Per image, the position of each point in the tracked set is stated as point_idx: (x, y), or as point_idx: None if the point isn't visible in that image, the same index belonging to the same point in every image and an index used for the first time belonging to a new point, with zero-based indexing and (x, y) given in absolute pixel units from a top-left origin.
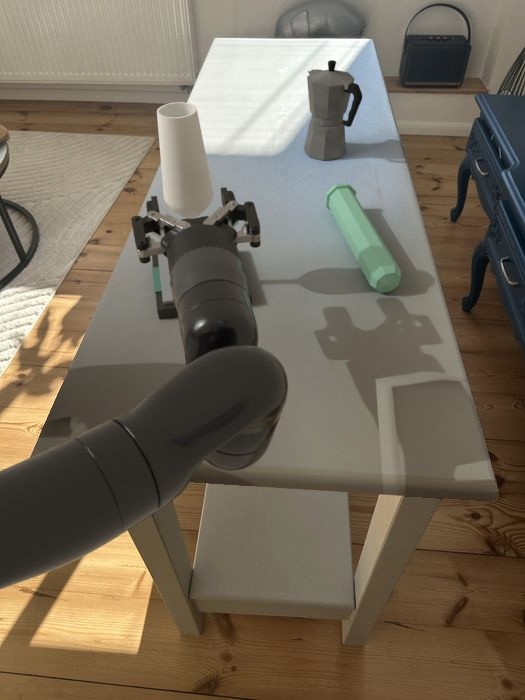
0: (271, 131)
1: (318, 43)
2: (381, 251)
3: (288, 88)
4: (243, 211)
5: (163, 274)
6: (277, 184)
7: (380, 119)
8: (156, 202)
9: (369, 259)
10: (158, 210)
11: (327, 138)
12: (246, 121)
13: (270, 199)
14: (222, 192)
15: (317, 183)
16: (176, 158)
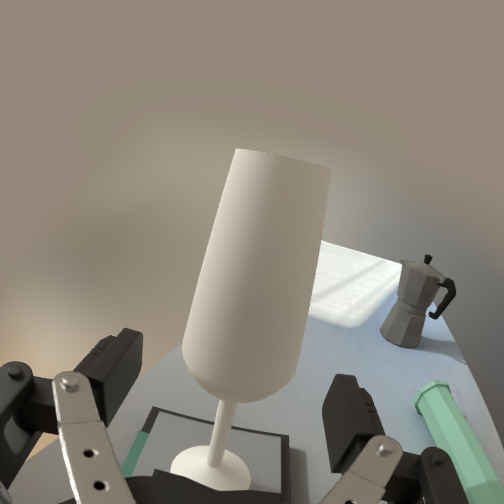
0: (347, 305)
1: (379, 259)
2: (499, 490)
3: (360, 278)
4: (411, 482)
5: (147, 453)
6: (352, 360)
7: (439, 321)
8: (121, 351)
9: (484, 502)
10: (102, 382)
11: (410, 325)
12: (324, 290)
13: None
14: (345, 392)
15: (396, 370)
16: (240, 258)
